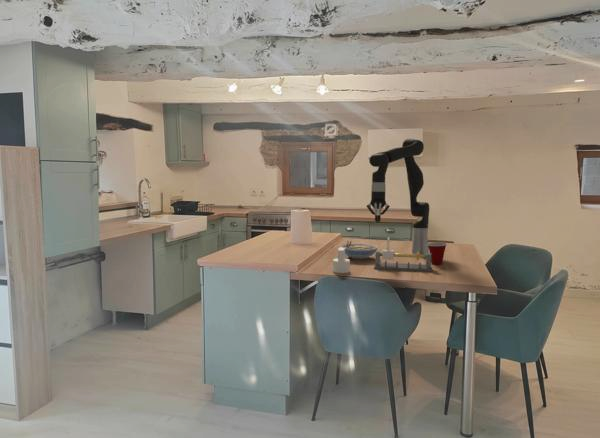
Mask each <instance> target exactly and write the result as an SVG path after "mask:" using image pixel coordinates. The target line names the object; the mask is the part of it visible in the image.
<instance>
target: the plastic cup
mask: <svg viewBox="0 0 600 438" xmlns="http://www.w3.org/2000/svg"><path fill="white" fill-rule="evenodd" d="M427 245H428V247H429V252H428V253H431V265H436V266H439V265H442V264H443V260H444V256H445V251H446V247H447V245H448V243H446V242H441V241H440V242H437V241H436V242H429V243H428V244H427Z"/></svg>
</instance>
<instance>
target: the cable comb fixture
mask: <svg viewBox="0 0 600 438" xmlns="http://www.w3.org/2000/svg"><path fill="white" fill-rule="evenodd" d="M374 254H375V261H374V267H373V268H374V270H383V271H384V270H385V271H386V270H387V271H388V270H389V271H405V272H423V273H424V272H427V273H428V272H429V273H432V272H433V270H432V264H431V253H430V252H428V253H426V255H419V252H417V254H412V253H394V257H396V258H412V259H413V258H414V259H415V258H416V260H418V261H419V260H420V259H425V264H422V263H421V262H419V263H418V264H417V263H410V261H409V262H408V261H407V263H399V261H395V262H387V261H388V260H384V262H381V257H382V252H381V250H376V252H375V253H374Z"/></svg>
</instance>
